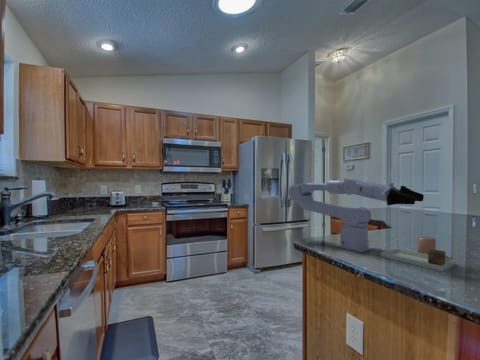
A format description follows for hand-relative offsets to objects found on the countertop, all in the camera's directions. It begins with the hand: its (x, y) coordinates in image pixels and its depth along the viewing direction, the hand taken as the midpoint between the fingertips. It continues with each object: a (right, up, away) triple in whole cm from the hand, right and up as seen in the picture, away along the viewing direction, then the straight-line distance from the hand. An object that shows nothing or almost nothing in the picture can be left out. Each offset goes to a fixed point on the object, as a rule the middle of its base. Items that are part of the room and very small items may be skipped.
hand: (419, 199), depth 84 cm
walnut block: (+2, -19, -5) cm, 20 cm away
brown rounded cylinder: (+7, -20, +7) cm, 22 cm away
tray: (-1, -20, -1) cm, 20 cm away
